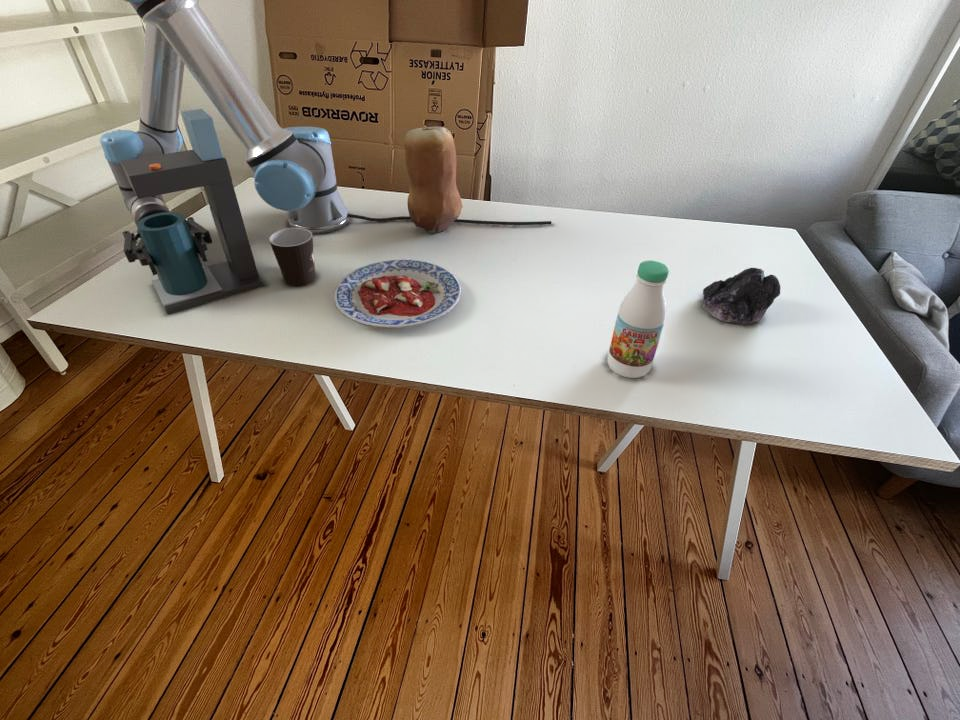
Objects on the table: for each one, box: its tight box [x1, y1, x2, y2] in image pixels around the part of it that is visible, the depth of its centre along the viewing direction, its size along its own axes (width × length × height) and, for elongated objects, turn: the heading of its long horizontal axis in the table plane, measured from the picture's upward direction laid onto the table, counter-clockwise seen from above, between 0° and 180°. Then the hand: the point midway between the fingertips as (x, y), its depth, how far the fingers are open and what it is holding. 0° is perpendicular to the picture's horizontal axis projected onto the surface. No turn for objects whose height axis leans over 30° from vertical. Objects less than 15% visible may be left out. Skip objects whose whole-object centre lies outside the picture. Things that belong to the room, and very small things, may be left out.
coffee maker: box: [120, 108, 265, 315], centre depth 100 cm, size 13×19×33 cm
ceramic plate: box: [333, 259, 462, 329], centre depth 107 cm, size 26×26×3 cm
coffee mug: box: [268, 227, 316, 288], centre depth 111 cm, size 12×9×10 cm
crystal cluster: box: [702, 267, 782, 325], centre depth 105 cm, size 13×14×10 cm
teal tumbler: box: [136, 211, 207, 295], centre depth 103 cm, size 8×8×14 cm
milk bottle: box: [606, 259, 670, 379], centre depth 87 cm, size 8×8×20 cm
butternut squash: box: [403, 125, 464, 234], centre depth 126 cm, size 14×13×25 cm
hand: (178, 261), depth 100 cm, fingers closed on teal tumbler, 8 cm apart
